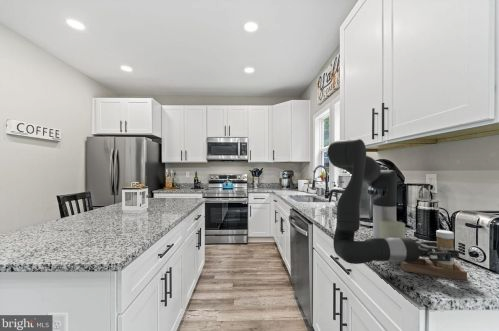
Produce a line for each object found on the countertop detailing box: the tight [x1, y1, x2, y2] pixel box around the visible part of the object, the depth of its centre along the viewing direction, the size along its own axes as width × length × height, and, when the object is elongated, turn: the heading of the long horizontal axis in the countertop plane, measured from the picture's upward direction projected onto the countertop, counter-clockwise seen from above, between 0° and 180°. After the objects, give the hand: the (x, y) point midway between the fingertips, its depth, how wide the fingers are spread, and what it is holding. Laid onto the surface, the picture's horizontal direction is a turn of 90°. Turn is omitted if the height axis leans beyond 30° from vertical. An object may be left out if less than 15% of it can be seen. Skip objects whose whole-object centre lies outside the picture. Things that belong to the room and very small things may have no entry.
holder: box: [399, 257, 468, 281], centre depth 82 cm, size 8×16×2 cm, turn 66°
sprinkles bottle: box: [435, 229, 455, 269], centre depth 80 cm, size 5×5×14 cm
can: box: [380, 220, 406, 238], centre depth 102 cm, size 9×9×12 cm
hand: (446, 249), depth 80 cm, fingers open, 8 cm apart
